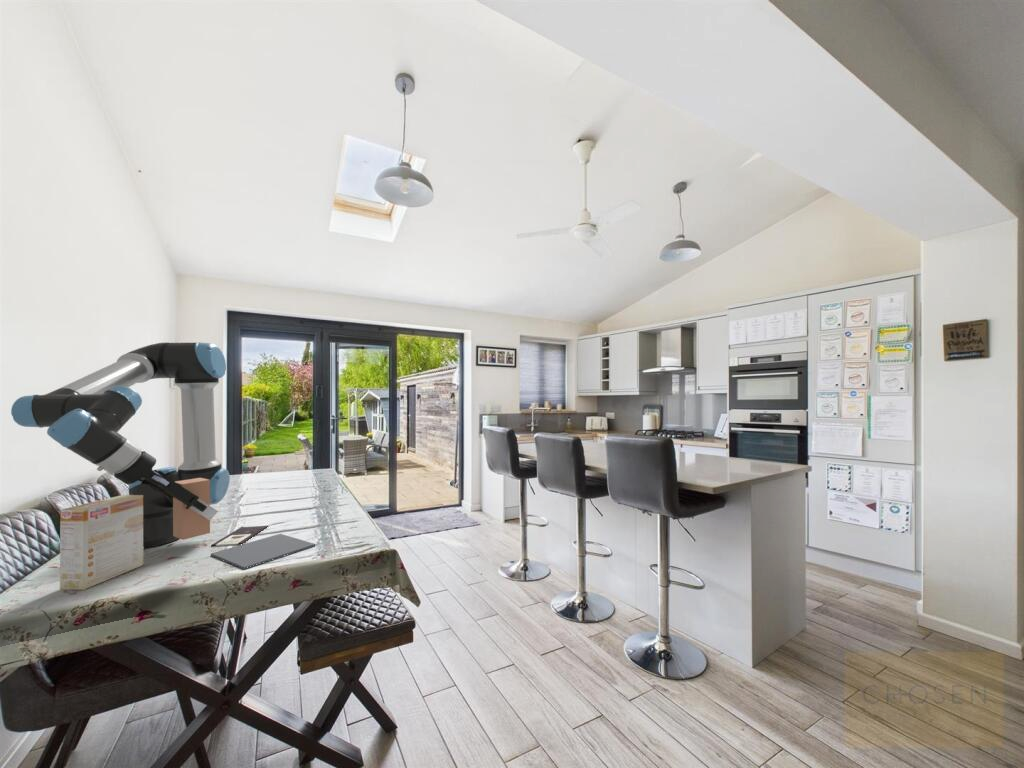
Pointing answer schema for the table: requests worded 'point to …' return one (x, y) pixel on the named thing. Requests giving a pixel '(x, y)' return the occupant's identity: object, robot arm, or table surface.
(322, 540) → the table surface
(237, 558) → the rubber mat
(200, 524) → the wooden block
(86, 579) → the coffeecake box
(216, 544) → the chocolate bar
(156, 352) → the robot arm
